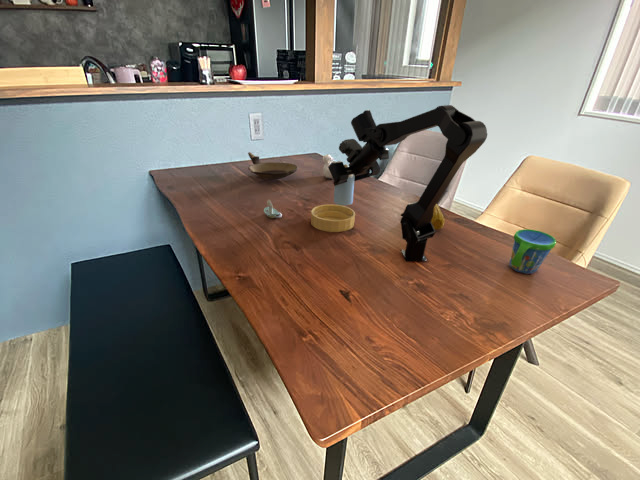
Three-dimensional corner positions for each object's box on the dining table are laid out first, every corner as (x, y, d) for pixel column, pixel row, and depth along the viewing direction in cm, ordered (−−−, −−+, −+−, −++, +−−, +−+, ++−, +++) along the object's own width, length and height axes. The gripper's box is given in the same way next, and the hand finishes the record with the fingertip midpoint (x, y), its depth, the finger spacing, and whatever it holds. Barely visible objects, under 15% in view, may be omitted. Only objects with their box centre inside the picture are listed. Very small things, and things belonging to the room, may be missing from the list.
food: (443, 233, 126) (447, 216, 122) (427, 232, 126) (431, 215, 123) (435, 211, 143) (438, 196, 139) (420, 210, 143) (423, 195, 139)
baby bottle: (352, 205, 124) (355, 167, 117) (333, 204, 125) (335, 166, 117) (352, 199, 130) (355, 162, 122) (334, 198, 130) (336, 161, 122)
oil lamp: (258, 187, 158) (257, 169, 153) (241, 169, 179) (239, 152, 174) (305, 183, 165) (306, 165, 161) (283, 165, 187) (283, 149, 182)
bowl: (356, 233, 123) (357, 221, 120) (311, 233, 122) (312, 220, 119) (351, 216, 135) (352, 204, 132) (310, 216, 134) (310, 204, 131)
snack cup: (524, 284, 101) (539, 250, 94) (491, 268, 107) (502, 235, 101) (553, 269, 108) (568, 237, 102) (520, 255, 115) (533, 224, 109)
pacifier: (277, 212, 137) (262, 213, 134) (277, 195, 133) (262, 196, 131) (284, 219, 131) (269, 220, 129) (285, 201, 128) (268, 203, 125)
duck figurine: (324, 178, 179) (312, 159, 171) (336, 167, 178) (324, 148, 170) (333, 185, 170) (320, 166, 163) (346, 174, 169) (333, 155, 161)
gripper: (378, 128, 116) (351, 158, 129) (333, 134, 106) (310, 165, 120) (393, 160, 116) (365, 186, 129) (349, 168, 106) (324, 196, 119)
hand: (341, 182), depth 124 cm, fingers closed on baby bottle, 6 cm apart
